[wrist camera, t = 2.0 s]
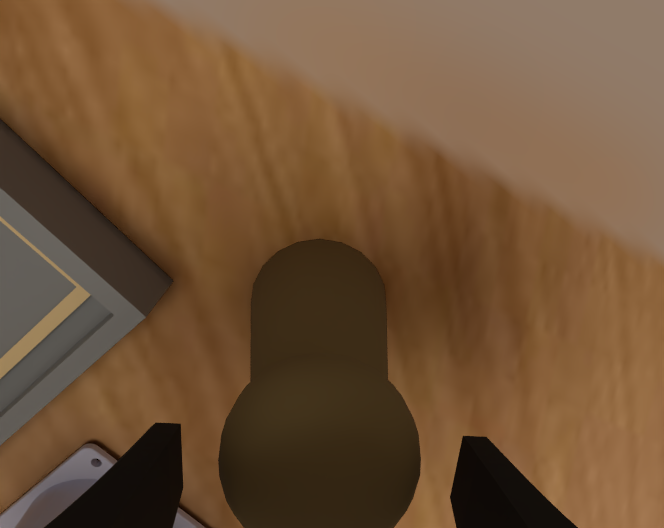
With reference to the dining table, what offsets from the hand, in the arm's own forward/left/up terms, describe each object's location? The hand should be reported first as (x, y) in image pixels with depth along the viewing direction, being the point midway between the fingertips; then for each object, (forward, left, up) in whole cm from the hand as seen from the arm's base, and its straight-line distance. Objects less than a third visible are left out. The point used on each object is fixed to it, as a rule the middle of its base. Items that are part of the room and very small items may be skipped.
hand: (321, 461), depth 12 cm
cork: (0, 0, -10) cm, 10 cm away
